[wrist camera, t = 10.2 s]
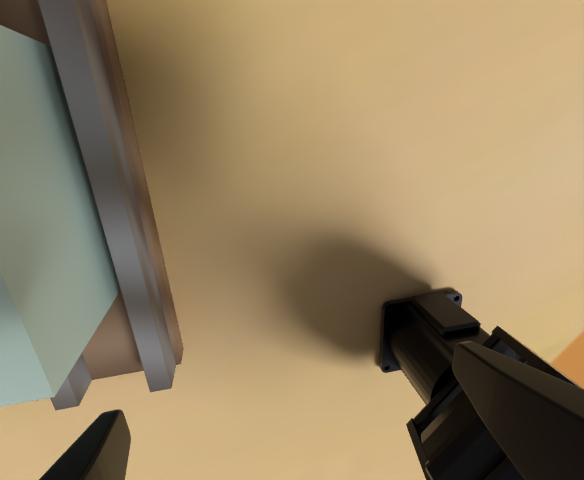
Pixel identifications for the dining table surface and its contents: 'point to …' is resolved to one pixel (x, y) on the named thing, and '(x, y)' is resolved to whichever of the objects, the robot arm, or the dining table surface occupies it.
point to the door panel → (44, 229)
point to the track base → (108, 195)
